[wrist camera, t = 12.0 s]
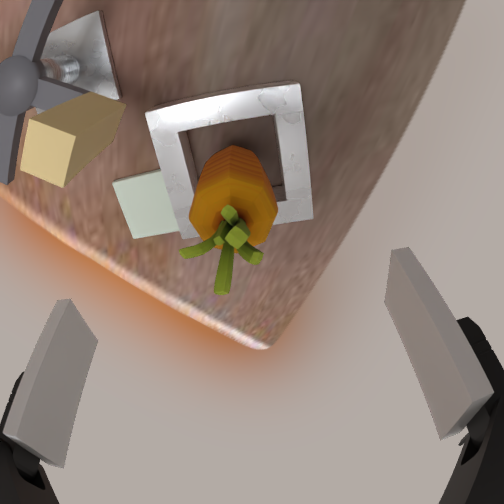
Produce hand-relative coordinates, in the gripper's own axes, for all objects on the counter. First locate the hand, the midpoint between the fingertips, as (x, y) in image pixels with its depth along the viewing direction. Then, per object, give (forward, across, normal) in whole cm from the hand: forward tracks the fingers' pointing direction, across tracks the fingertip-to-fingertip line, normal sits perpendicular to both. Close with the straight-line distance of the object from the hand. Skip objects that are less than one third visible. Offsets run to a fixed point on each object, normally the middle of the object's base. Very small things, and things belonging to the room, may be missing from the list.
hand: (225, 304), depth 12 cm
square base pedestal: (+17, -12, +11) cm, 23 cm away
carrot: (+17, 0, 0) cm, 17 cm away
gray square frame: (+17, 0, 0) cm, 17 cm away
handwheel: (+10, -12, +11) cm, 19 cm away
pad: (+17, -8, -3) cm, 19 cm away
